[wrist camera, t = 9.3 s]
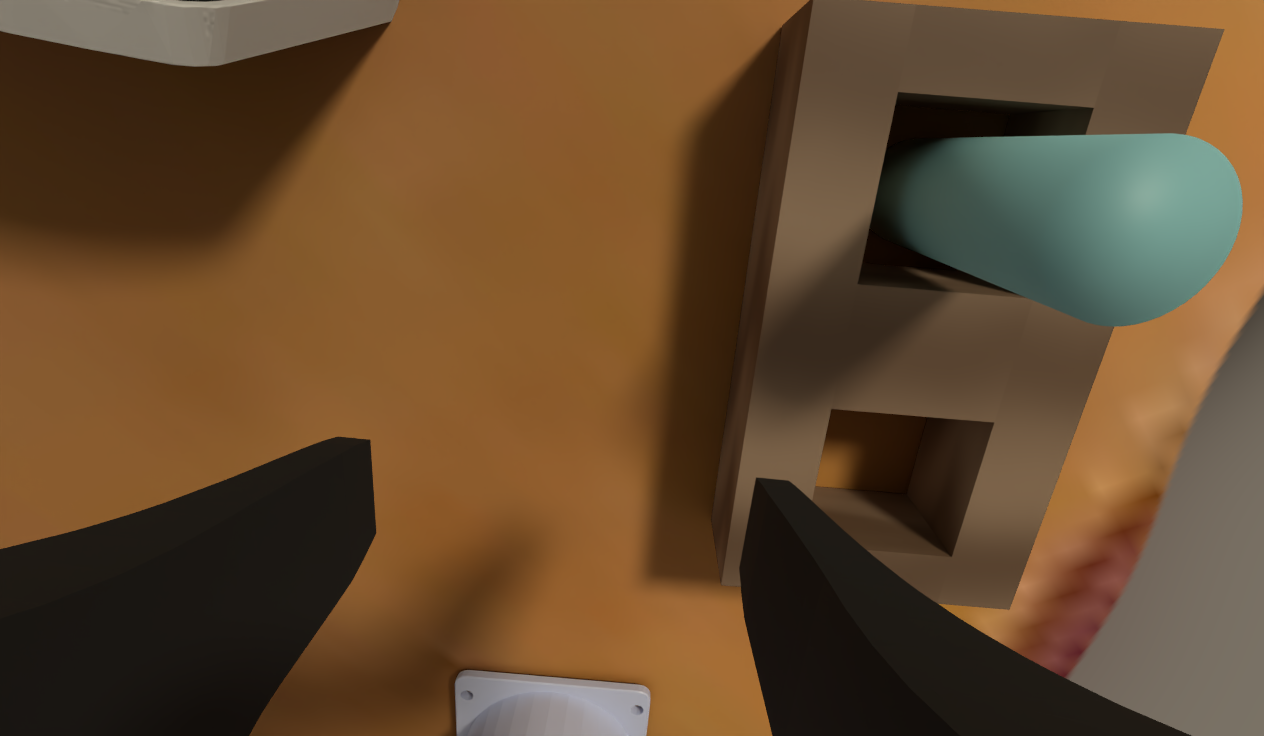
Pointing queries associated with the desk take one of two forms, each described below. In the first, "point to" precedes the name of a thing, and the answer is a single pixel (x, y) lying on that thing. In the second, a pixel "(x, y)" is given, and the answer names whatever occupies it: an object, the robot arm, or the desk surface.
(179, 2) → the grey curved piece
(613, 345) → the desk surface
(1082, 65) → the hole block
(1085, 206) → the peg
